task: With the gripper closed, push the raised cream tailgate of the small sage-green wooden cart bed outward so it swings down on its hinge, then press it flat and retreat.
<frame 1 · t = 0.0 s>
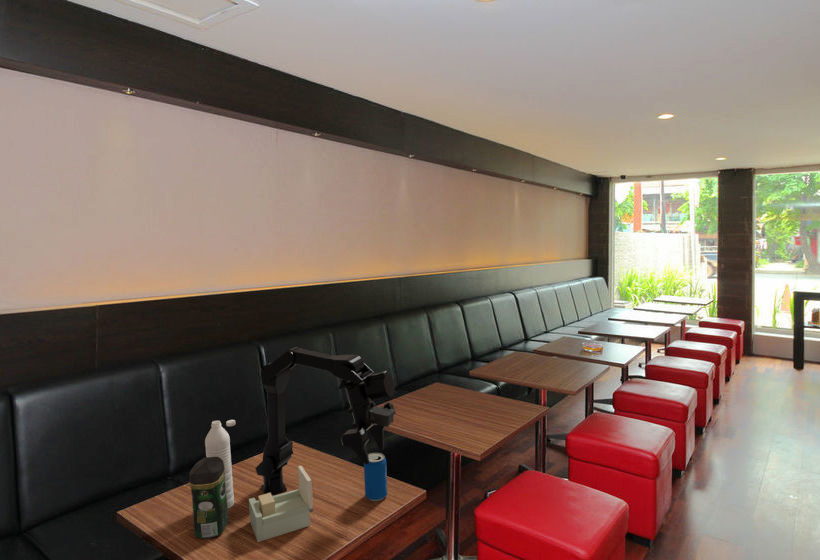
hand: (374, 456, 136), 15 cm above the table, tool pointing down, fingers open, 9 cm apart
coffee jar: (211, 530, 131), on the table
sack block: (267, 513, 130), point 4 cm above the table, touching cart bed
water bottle: (226, 506, 142), on the table
tailgate: (305, 488, 135), point 8 cm above the table, hinge at 90.0°
beverage can: (376, 497, 144), on the table
cart bed: (282, 523, 133), on the table
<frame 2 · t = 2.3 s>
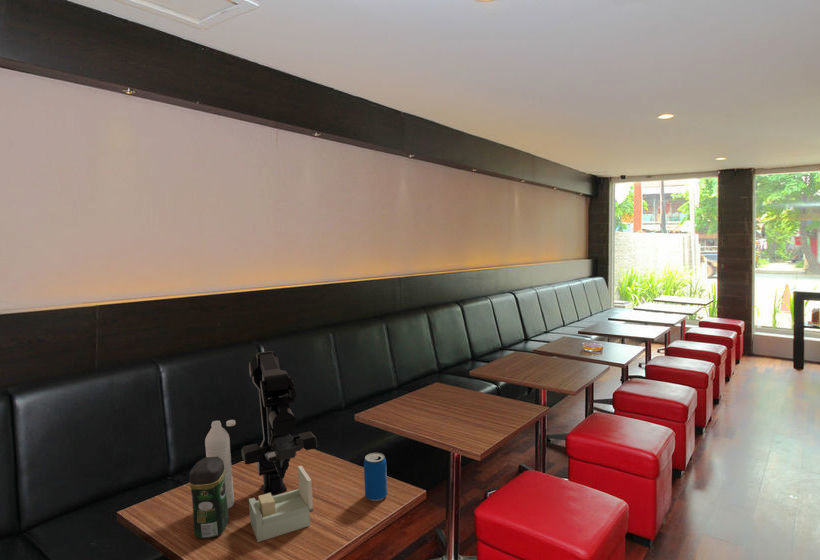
hand: (281, 478, 131), 13 cm above the table, tool pointing down, fingers closed
nothing on the table moved.
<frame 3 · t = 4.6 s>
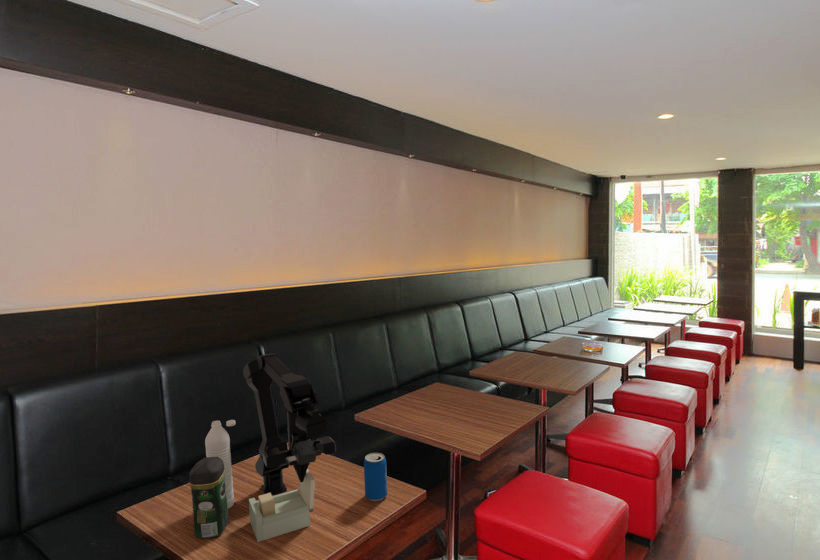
hand: (301, 481, 134), 10 cm above the table, tool pointing down, fingers closed
tailgate: (306, 488, 135), point 8 cm above the table, hinge at 83.3°, touching gripper
everything else where it was.
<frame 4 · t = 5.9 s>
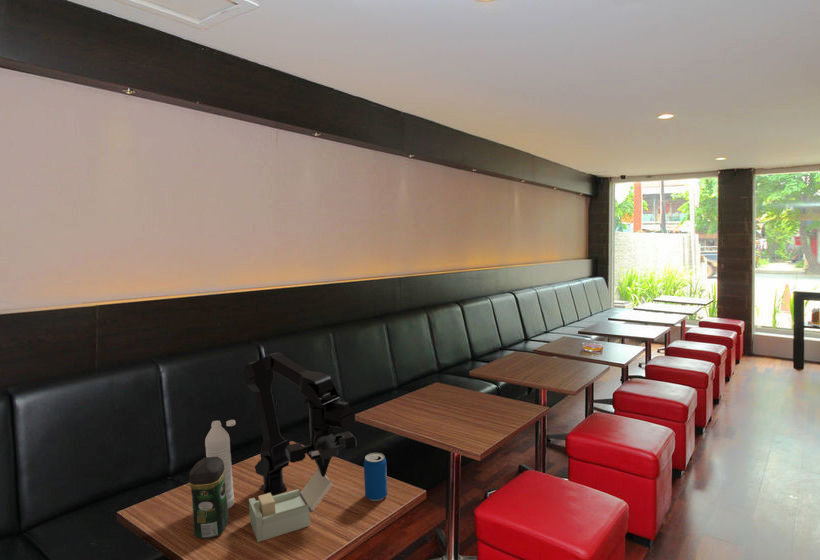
hand: (323, 475, 137), 10 cm above the table, tool pointing down, fingers closed
tailgate: (315, 489, 136), point 7 cm above the table, hinge at 44.1°, touching gripper
everything else where it was.
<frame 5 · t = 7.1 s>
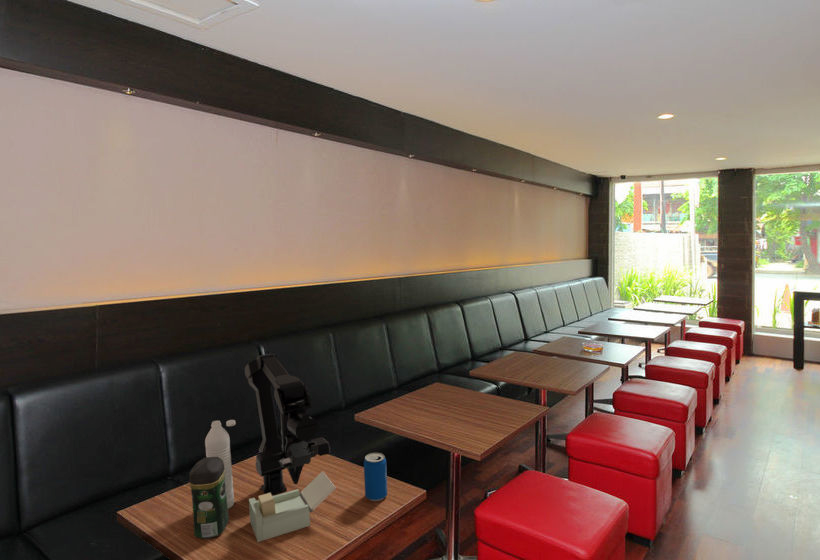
hand: (295, 483, 133), 10 cm above the table, tool pointing down, fingers closed
tailgate: (317, 491, 137), point 6 cm above the table, hinge at 33.8°
everything else where it was.
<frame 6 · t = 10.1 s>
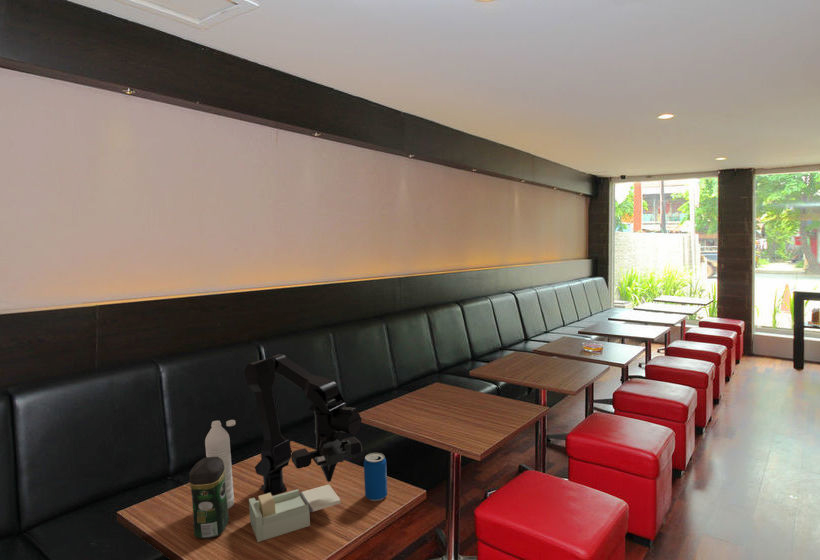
hand: (328, 481, 138), 8 cm above the table, tool pointing down, fingers closed
tailgate: (319, 497, 137), point 4 cm above the table, hinge at -0.2°
everything else where it was.
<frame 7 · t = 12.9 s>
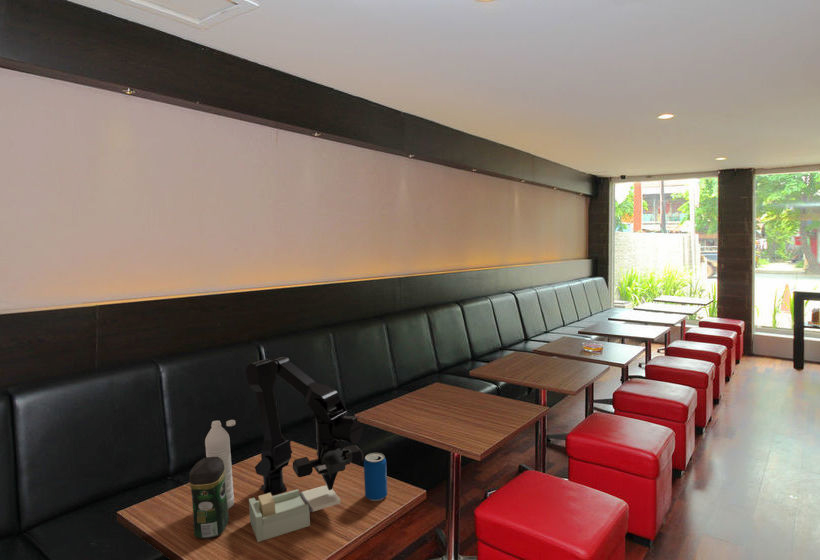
hand: (329, 489, 138), 6 cm above the table, tool pointing down, fingers closed
nothing on the table moved.
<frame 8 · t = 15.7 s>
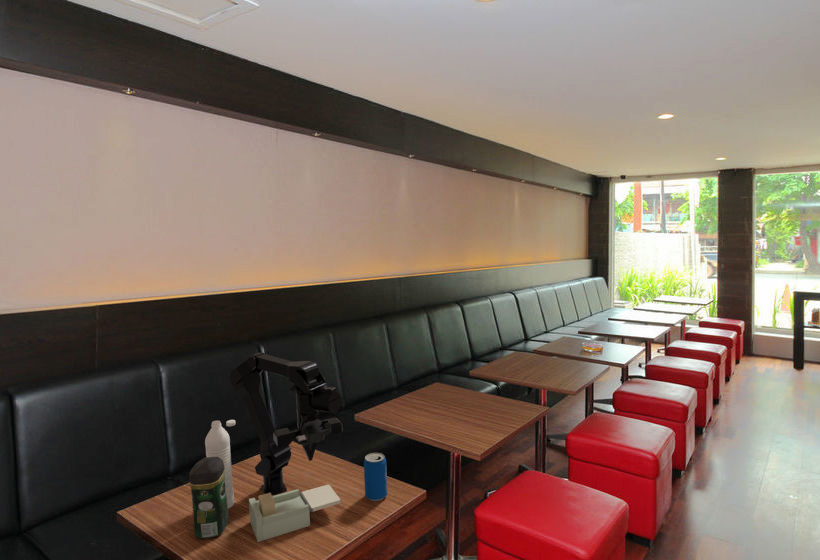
hand: (310, 460, 141), 13 cm above the table, tool pointing down, fingers closed
nothing on the table moved.
at the end: tailgate at +0° (first picture: +90°) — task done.
